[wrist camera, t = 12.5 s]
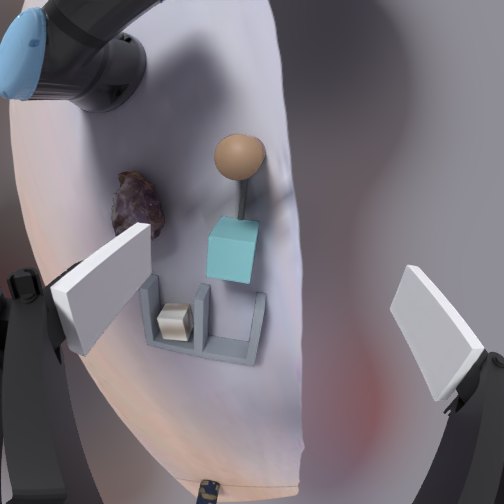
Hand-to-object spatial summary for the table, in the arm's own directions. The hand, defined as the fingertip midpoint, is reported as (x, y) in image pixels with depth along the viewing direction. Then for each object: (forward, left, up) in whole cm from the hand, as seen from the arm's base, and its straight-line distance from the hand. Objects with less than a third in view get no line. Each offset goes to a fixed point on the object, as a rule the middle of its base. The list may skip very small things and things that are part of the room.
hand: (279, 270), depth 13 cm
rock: (+6, -21, -30) cm, 37 cm away
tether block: (+3, -5, -29) cm, 30 cm away
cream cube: (+28, -15, -30) cm, 43 cm away
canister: (+140, -8, -30) cm, 143 cm away
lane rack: (+26, -10, -29) cm, 40 cm away
